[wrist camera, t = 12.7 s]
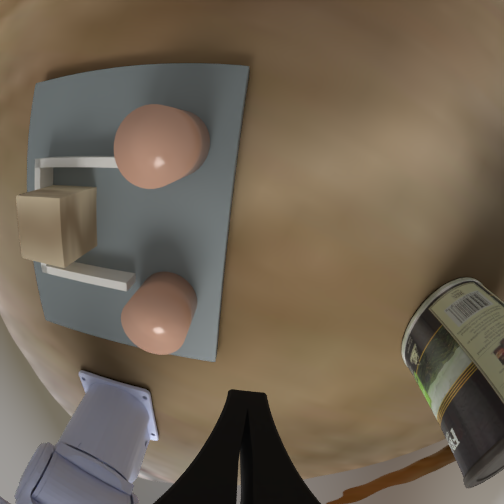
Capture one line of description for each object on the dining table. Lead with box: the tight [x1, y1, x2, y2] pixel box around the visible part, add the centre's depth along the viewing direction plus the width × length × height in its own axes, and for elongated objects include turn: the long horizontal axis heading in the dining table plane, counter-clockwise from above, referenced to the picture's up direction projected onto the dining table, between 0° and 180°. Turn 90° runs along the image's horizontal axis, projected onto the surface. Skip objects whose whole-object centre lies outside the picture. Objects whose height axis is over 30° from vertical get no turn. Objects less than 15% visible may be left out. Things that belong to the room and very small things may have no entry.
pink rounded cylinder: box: [121, 272, 197, 355], centre depth 17 cm, size 4×4×4 cm
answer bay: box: [35, 156, 136, 291], centre depth 16 cm, size 8×8×2 cm
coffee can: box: [402, 277, 504, 488], centre depth 13 cm, size 10×10×14 cm
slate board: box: [27, 63, 250, 362], centre depth 17 cm, size 20×16×1 cm
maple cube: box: [16, 185, 97, 268], centre depth 15 cm, size 4×4×4 cm
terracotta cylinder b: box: [114, 104, 210, 189], centre depth 13 cm, size 4×4×4 cm
